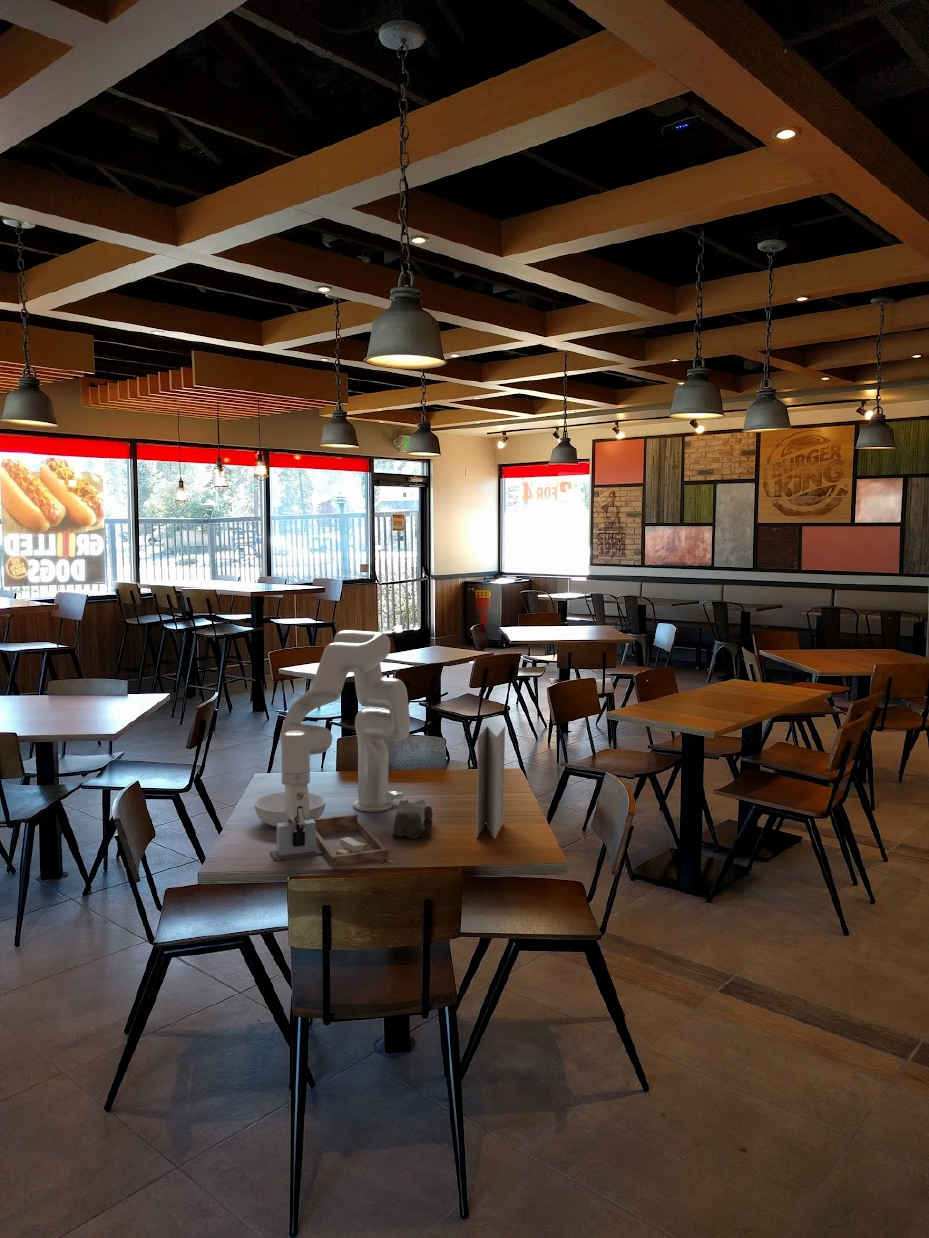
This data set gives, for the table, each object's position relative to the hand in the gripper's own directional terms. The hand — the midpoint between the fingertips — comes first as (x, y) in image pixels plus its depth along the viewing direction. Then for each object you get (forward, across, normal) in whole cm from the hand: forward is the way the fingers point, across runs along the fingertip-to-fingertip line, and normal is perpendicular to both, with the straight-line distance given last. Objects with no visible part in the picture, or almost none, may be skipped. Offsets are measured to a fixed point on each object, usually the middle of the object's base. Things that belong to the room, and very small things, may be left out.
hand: (296, 841), depth 246 cm
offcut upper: (+2, -5, -14) cm, 15 cm away
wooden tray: (+4, +1, -14) cm, 15 cm away
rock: (+4, +6, -36) cm, 37 cm away
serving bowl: (+4, +26, -4) cm, 27 cm away
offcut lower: (+4, -5, -14) cm, 16 cm away
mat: (+4, 0, 0) cm, 4 cm away
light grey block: (+3, 0, 0) cm, 3 cm away
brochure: (+4, -2, -57) cm, 57 cm away
